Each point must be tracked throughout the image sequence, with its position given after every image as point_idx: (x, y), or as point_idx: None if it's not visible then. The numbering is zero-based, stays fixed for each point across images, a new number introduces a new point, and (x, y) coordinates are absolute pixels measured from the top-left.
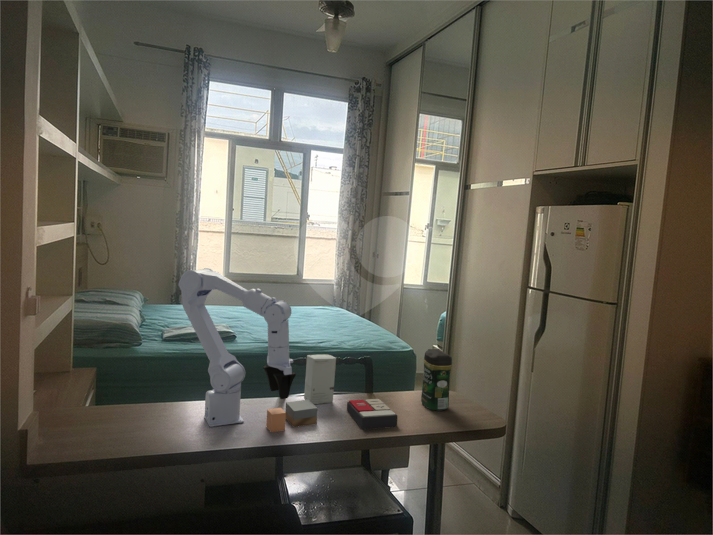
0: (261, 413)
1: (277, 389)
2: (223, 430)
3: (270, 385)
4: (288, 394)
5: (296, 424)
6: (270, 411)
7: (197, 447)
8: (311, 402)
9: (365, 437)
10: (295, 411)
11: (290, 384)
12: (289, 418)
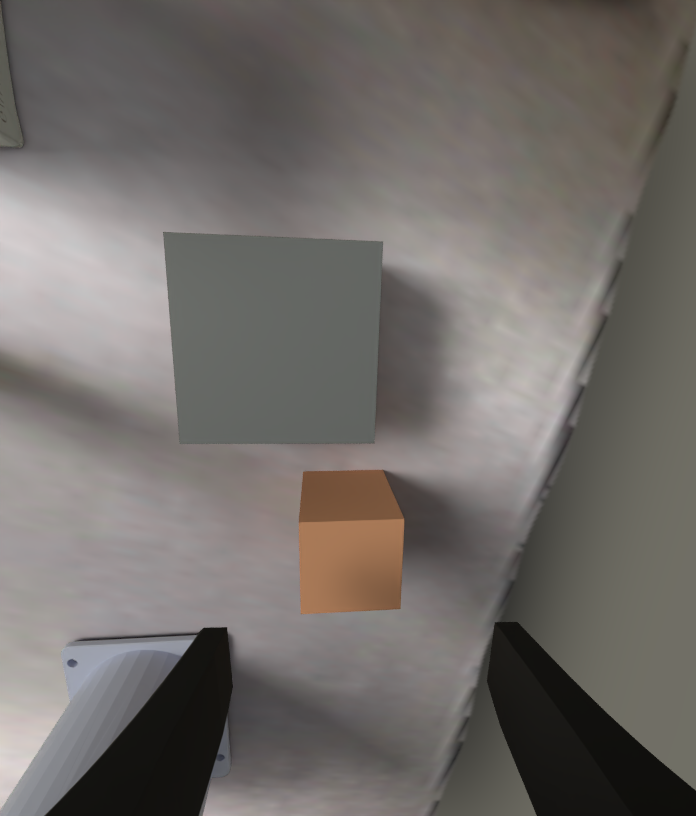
0: (109, 521)
1: (224, 643)
2: (280, 720)
3: (211, 766)
4: (543, 652)
5: None
6: (345, 604)
7: (402, 811)
8: (9, 130)
9: (676, 47)
10: (373, 432)
11: (676, 786)
12: None
